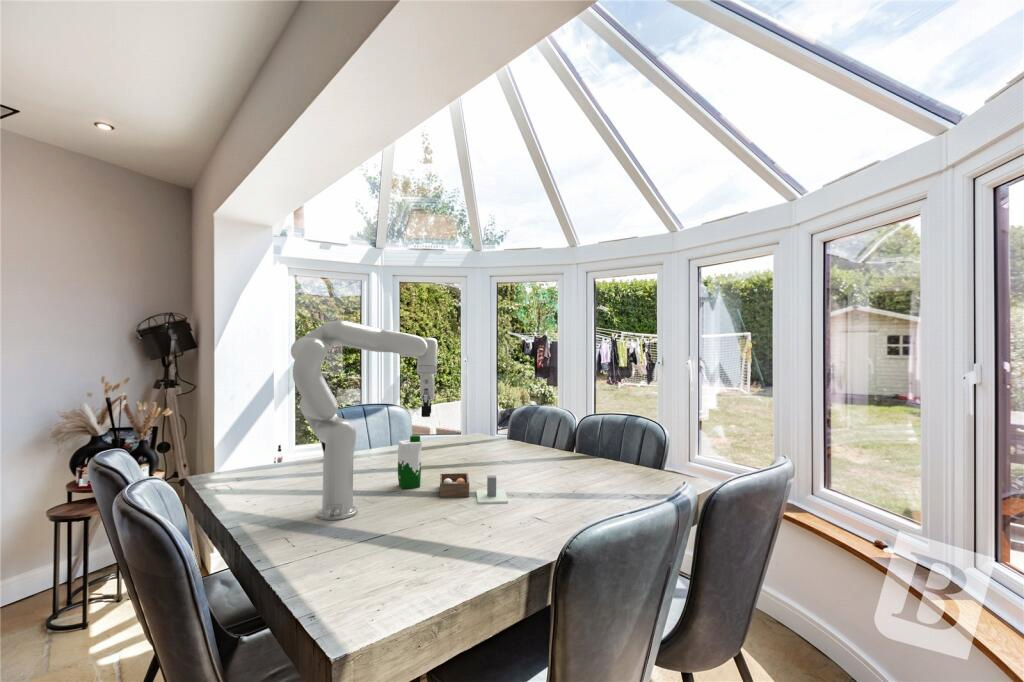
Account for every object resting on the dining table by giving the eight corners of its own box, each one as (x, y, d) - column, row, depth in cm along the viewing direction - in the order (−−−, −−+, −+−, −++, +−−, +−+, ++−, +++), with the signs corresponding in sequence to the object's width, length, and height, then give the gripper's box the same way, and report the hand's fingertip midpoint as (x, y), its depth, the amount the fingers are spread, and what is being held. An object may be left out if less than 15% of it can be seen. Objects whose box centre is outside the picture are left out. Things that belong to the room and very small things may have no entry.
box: (469, 496, 177) (469, 483, 177) (439, 497, 176) (439, 484, 176) (467, 485, 192) (467, 473, 192) (440, 486, 191) (440, 473, 191)
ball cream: (452, 488, 185) (452, 479, 185) (443, 489, 185) (443, 479, 185) (452, 486, 189) (452, 477, 189) (443, 486, 188) (443, 477, 188)
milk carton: (422, 487, 188) (423, 437, 189) (400, 490, 185) (400, 439, 185) (417, 482, 196) (418, 434, 197) (395, 484, 192) (396, 435, 193)
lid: (508, 504, 170) (508, 481, 170) (477, 505, 169) (477, 482, 169) (504, 492, 185) (504, 471, 185) (476, 492, 184) (476, 471, 184)
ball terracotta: (465, 488, 186) (465, 479, 186) (455, 488, 185) (456, 479, 185) (464, 485, 189) (464, 476, 189) (455, 486, 189) (455, 477, 189)
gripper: (436, 371, 172) (435, 418, 171) (437, 369, 189) (436, 412, 188) (415, 371, 171) (414, 418, 170) (418, 369, 188) (417, 412, 187)
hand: (426, 415), depth 179 cm, fingers open, 9 cm apart
